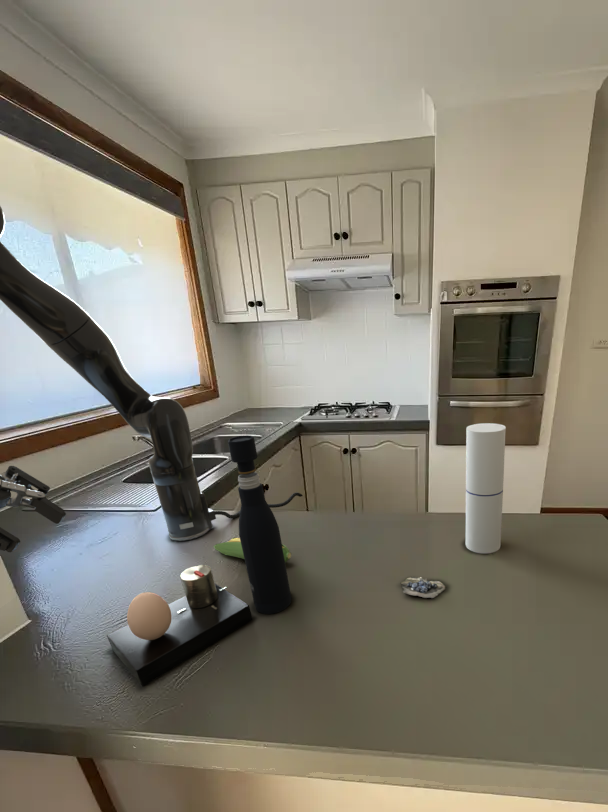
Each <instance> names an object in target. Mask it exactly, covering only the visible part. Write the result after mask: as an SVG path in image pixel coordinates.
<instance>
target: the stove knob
mask: <svg viewBox="0 0 608 812" xmlns="http://www.w3.org/2000/svg"><path fill="white" fill-rule="evenodd" d="M179 576H180V577H179V578H180V581H181V584H182V585H181V586H182V587H183V588H182V589H183V591H184V594H185V596H186V598H187V601H188V605H189V606H190V607H192V608H202V607H206V606H208V605H210V604H212V603H213V602H215V601H216V599H217V597H218V594H217V591H216V587H215V583H216V582H215V579H214V575H213V571H212V567H210V566H209V565H206V564H198V565H194V566H190V567H188V568H186V569H185V570H184V571H182V572H181V573H180V575H179Z"/></svg>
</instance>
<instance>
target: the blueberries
mask: <svg viewBox="0 0 608 812" xmlns="http://www.w3.org/2000/svg"><path fill="white" fill-rule="evenodd" d="M400 585H401V586H400V587H401V588H402V589H403V590H402V593H403V594H405V595H410V596H418V597H422V598H424V599H427V598H431V599H434V598H436V597H438V596H439V594H441V593H442V592H443V591H445V590H446V586H445V585H444V583H442V582H441V581H439V580H432V579H431V580H427V578H423V577H422V576H420V577H418V576H417V577H416V576H410V577H407V578H406V579H404V580H403V581H401V582H400Z"/></svg>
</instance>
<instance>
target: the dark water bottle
mask: <svg viewBox="0 0 608 812" xmlns="http://www.w3.org/2000/svg"><path fill="white" fill-rule="evenodd" d="M227 446H228V450H229V455H230V459H231V462H232V463H236V465H237V466H236V467H237V473H238V474H239V475H238V476H237V482H238V486H239V487H238V488H237V491H238V495H239V500H240V509H239V511H240V516H238V536H239V537H238V538H240V541H241V546H242V550H243V555H244V559H243V560H244V563H245V568H246V572H247V577H248V581H249V586H250V591H251V595H252V599H253V604H254V608H255V610H256V611H257V612H258V613H261V614H263V615H271V614H277V613H280V612H282V611H284V610H286V609H287V608H288V607H289V606H290V605H291V603H292V594H291V588H290V582H289V576H288V570H287V565H286V562H285V559H284V554H283V548H282V544H283V543H282V537H281V533H280V527H279V524H278V521H277V518H276V516H275V514H274V512H273V511H272V508H270V507H269V505H268V504H269V503H268V502H267V500H266V497H265V491H264V486H263V484H262V483H261V480H260V475H259V473H258V472H256V471H257V468H256V466H255V460H257V459H258V452H257V448H256V441H255V437H254V436H253V435H238V436H234V437H231V438H229V439H228V440H227Z"/></svg>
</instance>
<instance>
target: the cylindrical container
mask: <svg viewBox="0 0 608 812" xmlns="http://www.w3.org/2000/svg"><path fill="white" fill-rule="evenodd" d="M465 430H466V431H465V435H466V436H465V439H466V440H465V451H466V452H465V543H464V544H465V547H466V549H468V550H469V551H471V552H473V553H477V554H492V553H496V552H498V551H499V550H500V549H501V545H502V524H503V523H502V521H503V502H504V501H503V500H504V475H505V457H506V456H505V455H506V434H507V433H506V432H507V431H506V430H507V427H506V425H504V424H501V423H495V422H494V423H492V422H490V423H489V422H481V423H475V424H470V425H467V426H466V428H465Z"/></svg>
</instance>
